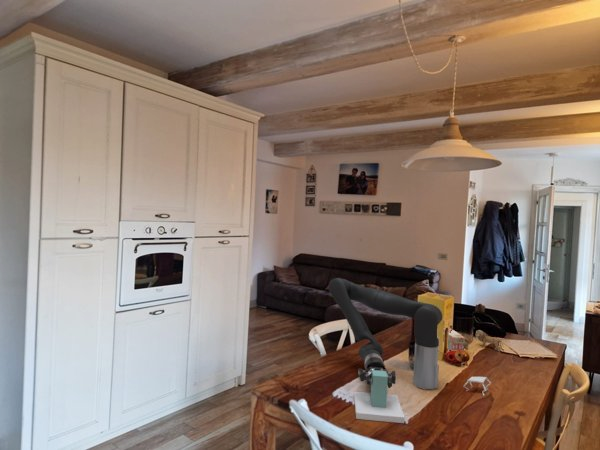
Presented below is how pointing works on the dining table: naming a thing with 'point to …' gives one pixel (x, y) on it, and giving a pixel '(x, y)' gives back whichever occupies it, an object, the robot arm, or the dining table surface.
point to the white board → (378, 409)
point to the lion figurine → (488, 339)
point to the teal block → (379, 388)
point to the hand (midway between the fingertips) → (379, 384)
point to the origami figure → (478, 380)
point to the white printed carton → (455, 341)
